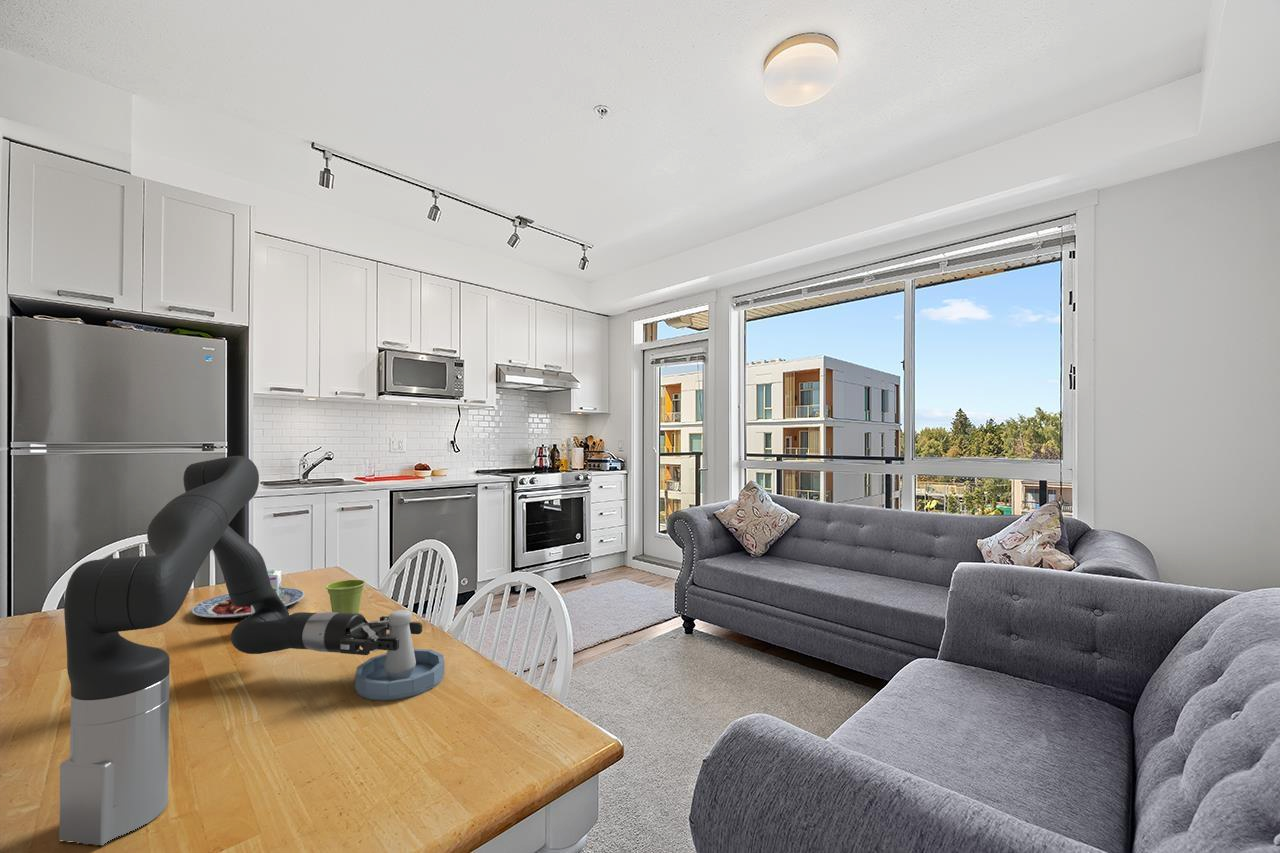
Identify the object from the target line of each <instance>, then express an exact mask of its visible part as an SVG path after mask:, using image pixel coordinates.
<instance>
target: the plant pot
mask: <svg viewBox="0 0 1280 853" xmlns="http://www.w3.org/2000/svg"><path fill="white" fill-rule="evenodd" d="M365 584H366V581H365V580H363V579H344V580H339V581H333V582H331V583H329V584H327V585H325V589H326V590H327V593H328V595H329V599H330V600H329V601H330V606H331V612H337V613H358V614H360V605H361V600H362V593H363V589H364V587H365Z"/></svg>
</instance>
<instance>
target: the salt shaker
mask: <svg viewBox="0 0 1280 853" xmlns="http://www.w3.org/2000/svg"><path fill="white" fill-rule="evenodd" d="M388 616H389V619H388V620H389V624H390V625H391V626H392V630H391V636H390V637H392V638H398V639H399V649H397V650H396V651H391V650H386V651H387V652H386V653H387V655H386V660H385V665H384V671H385V672H386V674H387V675H388V678H389V680H390V681H394V680H401V679H407V678H409V677H410V676H411V675H412V672H413V670H414V668H415V665H416V659H415V654H414V649H415V648H414V643H413V638H412V634H411V632H410V626H409V623H411V622H413V621H412V620H413V613H412V612H411V611H410V610H408V609H398V610H395V611H393V612H391V613H389V615H388Z"/></svg>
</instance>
